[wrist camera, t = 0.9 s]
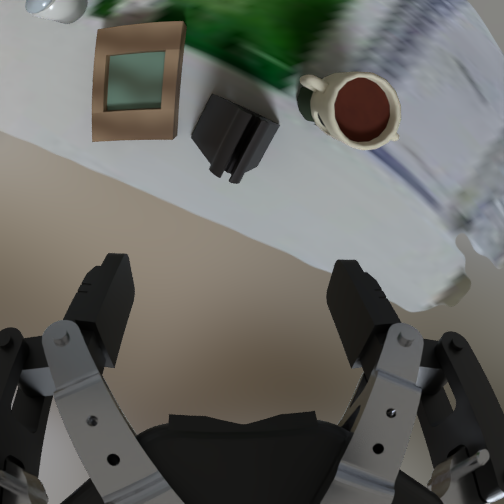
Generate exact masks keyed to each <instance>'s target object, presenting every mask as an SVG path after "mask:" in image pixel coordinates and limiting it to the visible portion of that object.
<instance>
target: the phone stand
mask: <svg viewBox="0 0 504 504" xmlns="http://www.w3.org/2000/svg"><path fill="white" fill-rule="evenodd" d="M279 126H280V125H279V124H277V123H275V122H273V121H271V120H269V119H267V118H265V117H263V116H261V115H259V114H257V113H255V112H252V111H250V110H248V109H246V108H244V107H242V106H240V105H237V104H235V103H233V102H231V101H228V100H226V99H224V98H222V97H219V96H217V95H215V94H212V95H211V97H210V99H209V101H208V103H207V105H206V107H205V109H204V111H203V113H202V115H201V117H200V119H199V121H198V123H197V126H196V128H195V130H194V132H193V134H192V136H191V138H192V139H193V141H194V142H195V144H196V145H197V146H198V148H199V149H200V150H201V152H202V153H203V154H204V156H205V157H206V158H207V160H208V161H209V162H210V164H211V166H210V168H209V170H210V171H211V172H212V173H213V174H214V175H216V176H217V177H219V178H220V177H221V176H222V174H223V172H224V171H226V172H227V173H230V174H231V177H230V179H229V182H231V183H235V184H238V183H240V181H241V179H242V177H243V175H244V173H245V172H247V171H249V170H251V169H253V168H255V167H257V166H258V164H259V162H260V161H261V159H262V157H263V155H264V153H265V151H266V149H267V148H268V146H269V144H270V142H271V140H272V139H273V137H274V135H275V133H276V131H277V130H278V128H279Z"/></svg>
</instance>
